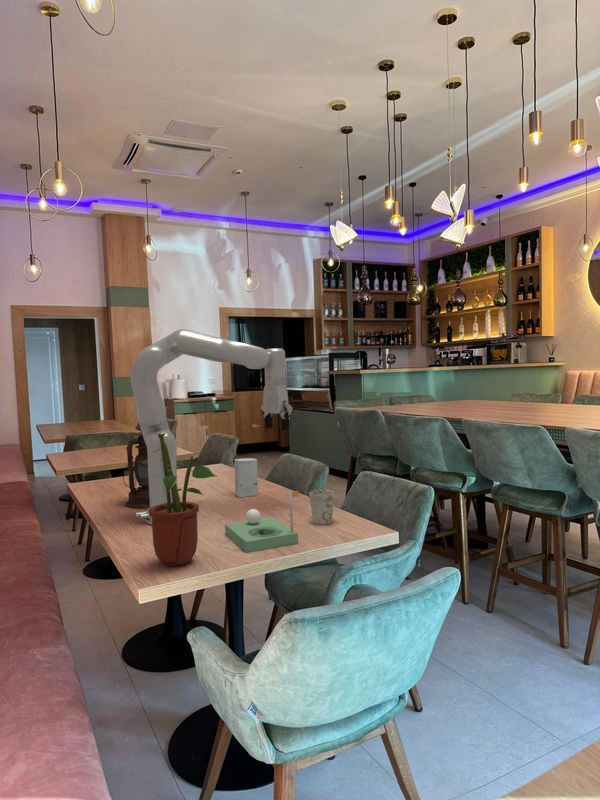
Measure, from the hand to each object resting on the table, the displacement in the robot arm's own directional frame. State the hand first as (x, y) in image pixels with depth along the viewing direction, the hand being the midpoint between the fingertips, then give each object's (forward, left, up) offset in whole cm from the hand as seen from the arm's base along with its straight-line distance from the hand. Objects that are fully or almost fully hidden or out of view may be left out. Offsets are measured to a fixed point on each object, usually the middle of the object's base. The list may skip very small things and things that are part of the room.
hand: (276, 429), depth 202 cm
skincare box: (-4, +24, -29) cm, 38 cm away
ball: (-19, -26, -24) cm, 40 cm away
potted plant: (-44, -39, -29) cm, 66 cm away
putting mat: (-19, -32, -29) cm, 47 cm away
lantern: (-41, +32, -29) cm, 60 cm away
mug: (+5, -24, -29) cm, 38 cm away
